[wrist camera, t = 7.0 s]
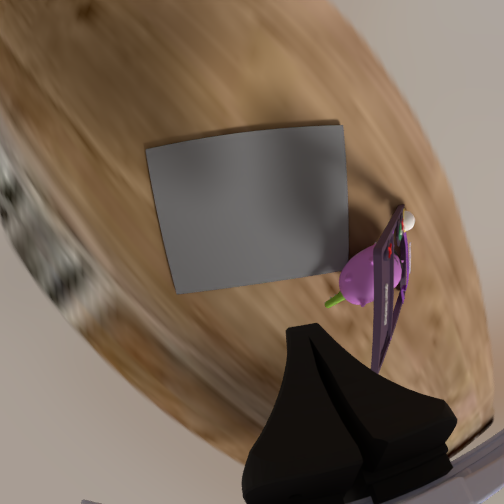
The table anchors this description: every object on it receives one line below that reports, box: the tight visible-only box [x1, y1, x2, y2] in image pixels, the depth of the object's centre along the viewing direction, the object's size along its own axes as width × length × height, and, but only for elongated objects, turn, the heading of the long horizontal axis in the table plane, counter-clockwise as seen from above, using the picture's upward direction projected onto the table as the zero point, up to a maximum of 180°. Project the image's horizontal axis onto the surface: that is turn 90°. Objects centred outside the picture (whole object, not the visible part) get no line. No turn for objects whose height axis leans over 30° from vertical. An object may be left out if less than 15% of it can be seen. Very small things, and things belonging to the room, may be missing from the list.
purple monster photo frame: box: [325, 205, 415, 374], centre depth 16 cm, size 7×5×9 cm
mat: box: [146, 125, 349, 294], centre depth 17 cm, size 9×11×1 cm
